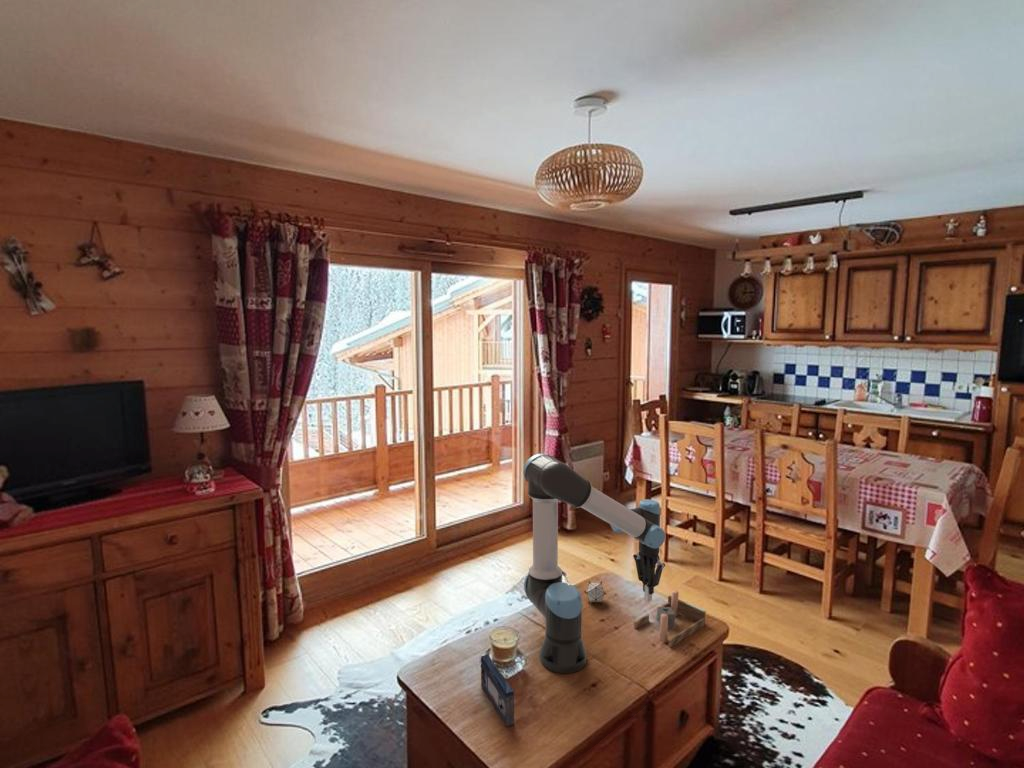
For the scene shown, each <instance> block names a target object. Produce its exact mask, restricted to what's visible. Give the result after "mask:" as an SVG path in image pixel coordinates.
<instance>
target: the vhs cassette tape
mask: <svg viewBox="0 0 1024 768" xmlns="http://www.w3.org/2000/svg"><path fill="white" fill-rule="evenodd" d="M480 663H481V664H480V678H481V679H480V680H481V688H482V690H483V691H484V694H485V695H486V696H487V698H488V700H489V701H490V703H491V705H492V706H493V708H494V710H495V711H496V713H497V714H498V716H499V718H500V719H501V720H502V722H503V724H504V726H505V727H506V728H507V727H510V726H512V725H515V691H514V689H513V688H512V687H511V685H510V683H509V682H508V681H507V680H506V677H505V676H504V675H503V674H502V672H500V669H499V668H498V667H497V665H496V664H495V663H494V661H493V660H492V659H491V658H490V655H489V654H485V655H480Z"/></svg>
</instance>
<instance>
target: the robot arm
mask: <svg viewBox="0 0 1024 768" xmlns="http://www.w3.org/2000/svg"><path fill="white" fill-rule="evenodd" d="M522 473H523V474H522V475H523V477H524V480H525V481H526V482H527V483H528V484H527V486H528V487H527V491H528V493H527V495H528V496H529V498H530V499H531V500H532V565H531V566H530V567H529V568H528V573H527V575H526V576H525V578H524V581H523V590H524V593H525V595H526V597H527V599H528V600H529V601H530V603H531V604H533V606H534V608H536V609H537V611H539V613H540V614H541V615H542V617H544V620H545V635H544V638H543V641H542V643H541V647H540V651H539V659H540V663H541V664H542V665H543V667H544V668H546V669H547V670H549V671H551V672H554V673H557V674H572V673H576V672H579V671H581V670H583V669H584V667H586V664H587V651H586V650H587V649H586V648H585V645H584V641H583V638H582V626H583V625H582V620H583V619H582V617H583V615H582V614H583V612H582V611H583V599H582V594H581V591H580V590H579V589H578V588H577V587H575V586H574V585H572V584H568V583H566V582H563V570H562V568H561V567H560V566H559V563H558V562H559V561H558V560H559V556H558V555H559V554H558V553H559V552H558V551H559V550H558V549H559V546H558V539H559V535H558V534H559V532H558V531H559V524H558V522H559V521H558V520H559V501H560V502H563V503H565V504H567V505H570V506H572V507H573V508H575V509H579V508H581V509H582V510H585V511H587V512H588V513H590V514H592V515H593V516H596V517H597V518H599V519H600V520H602V521H604V522H606V523H607V524H609V525H610V527H611V529H612V531H613V532H614V533H616V534H617V533H618V534H620V533H621V534H623V533H625V534H628V535H629V536H630V537H632V538H634V539H636V540H637V541H638V552H637V553H635V554H633V556H632V557H633V560H634V561H635V567H636V571H637V578H638V582H639V581H640V582H642V591H643V592H644V598H643V599H644V602H645V603H647V604H648V603H650V602H651V601H652V600H653V594H654V593H655V591H654V590H655V589H654V588H655V587H656V586H659V584H660V580H661V577H662V573H663V569H664V567H666V564H665V563H664V562H663V563H662V561H661V559H660V558H661V557H660V555H659V553H660V548H661V547H662V546H663V545H664V542H665V541H666V532H665V531H664V530H665V529H663V528H662V527H661V505H660V503H659V502H658V501H657V500H654V499H642V500H640V501H639V504H638V507H636V508H628V507H627V506H625V505H624V504H621V503H620V502H618V501H616V500H615V499H613V498H612V497H611V496H608V495H606V494H605V493H603V492H602V491H600V490H599V489H597V488H595V487H593V486H592V483H591V481H589V479H586V478H585V477H583V475H580V473H578V472H576V471H575V470H574V469H573V468H571V466H570V465H568V464H566V463H564V462H563V461H560V460H558V459H557V458H555V457H553V455H550V454H546V453H536V454H534V455H532V456H531V457H529V458H528V460H527V461H526V462H525V464H524V465H523V472H522Z"/></svg>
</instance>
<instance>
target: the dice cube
mask: <svg viewBox="0 0 1024 768" xmlns="http://www.w3.org/2000/svg"><path fill="white" fill-rule="evenodd" d="M656 609H657V610H656V621H657V622H658V624H659V626H660V625H661V614H666V615H668V628H675V626H676V616H675V613H674V612H673V610H672V608H671V607H661V606H657V608H656Z"/></svg>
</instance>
